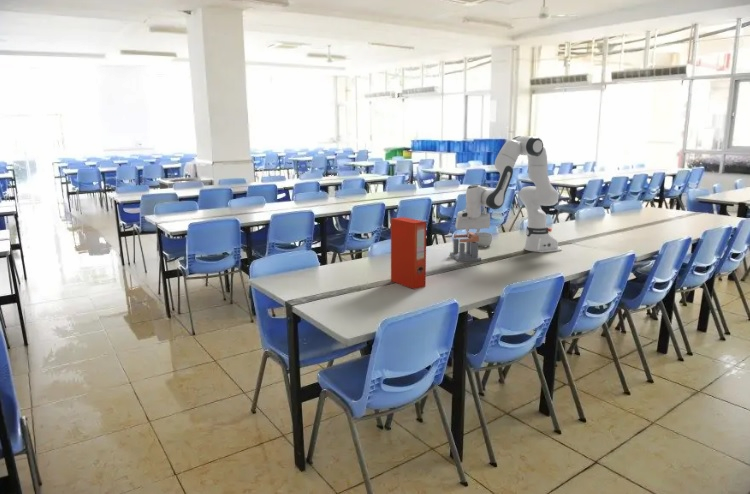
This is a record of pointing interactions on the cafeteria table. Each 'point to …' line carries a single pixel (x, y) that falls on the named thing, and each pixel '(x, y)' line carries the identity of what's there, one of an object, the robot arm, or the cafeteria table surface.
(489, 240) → the teacup
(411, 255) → the file binder
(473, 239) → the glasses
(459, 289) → the cafeteria table surface
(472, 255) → the display stand
